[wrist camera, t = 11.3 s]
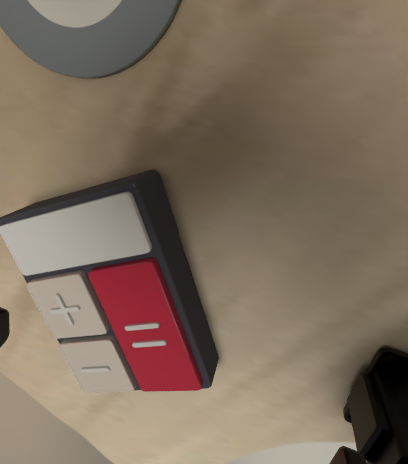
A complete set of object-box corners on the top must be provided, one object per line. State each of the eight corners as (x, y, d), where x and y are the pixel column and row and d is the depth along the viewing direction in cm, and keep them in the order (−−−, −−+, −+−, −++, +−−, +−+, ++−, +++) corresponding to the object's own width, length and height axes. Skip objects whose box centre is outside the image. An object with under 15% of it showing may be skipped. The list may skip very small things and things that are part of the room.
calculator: (78, 400, 24) (-19, 224, 20) (107, 359, 28) (31, 203, 24) (210, 399, 21) (128, 183, 16) (222, 352, 25) (159, 167, 20)
